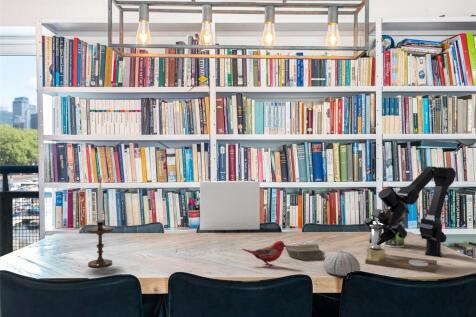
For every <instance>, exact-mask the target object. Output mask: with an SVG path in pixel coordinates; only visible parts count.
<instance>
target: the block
mask: <svg viewBox="0 0 476 317" xmlns="http://www.w3.org/2000/svg"><path fill="white" fill-rule="evenodd" d="M260 183H261V182H260V181H258V180H214V181H213V180H208V181H207V180H203V181H199V230H200V231H235V230H236V231H237V230H261V228H260V226H261V225H260V224H261V223H260V222H261V218H260V217H261V215H260V214H261V212H260V211H261V210H260V209H261V207H260V206H261V205H260V204H261V200H260V198H261V196H260V192H261V191H260V189H261V187H260V186H261V185H260Z"/></svg>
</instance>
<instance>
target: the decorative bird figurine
mask: <svg viewBox="0 0 476 317" xmlns="http://www.w3.org/2000/svg"><path fill="white" fill-rule="evenodd" d="M287 246H288V245H285V243H284V241H282V240H278V241H276V242H274V243H273V244H272V245H270V246H269V245H268V246H266V247H265V246H264V247H262V248H258V249H255V250H251V249H245V248H242V249H241V250H242V251H245V252H247V253H249V254H251V255H253V256H254V257H255V258H256V259H258V260H261V261H262V262H264V263H263V264H262V266H269V267H272V266H274V264H272V263H271V262H274V261H276V260H277V261H278V259H279V258H280V257H281V255H282V253H283V251H284V250H285V248H286V247H287ZM269 262H270V263H269Z"/></svg>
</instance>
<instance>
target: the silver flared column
mask: <svg viewBox="0 0 476 317" xmlns="http://www.w3.org/2000/svg"><path fill="white" fill-rule="evenodd" d="M369 227H372V234H371V233H370V236H371V243H370V244H371V245H370V247H371V250H377V251H379V250H381V248H382V244H380V245H377V244H376V243H377V241H378V239H379V238H380V236H381V233H382V229H381V228H383V225H380V224H370V225H369Z"/></svg>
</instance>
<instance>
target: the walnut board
mask: <svg viewBox="0 0 476 317" xmlns="http://www.w3.org/2000/svg"><path fill="white" fill-rule="evenodd" d="M409 260H421V261H425V262H427V263H428V266H414V265H410V264H409V263H408V261H409ZM364 261H365V262H364V264H367V265H374V266H379V267H380V266H381V267H388V268H389V267H390V268H397V269H404V270H410V271H411V270H412V271H418V272H427V273H436V270H437V266H438V265H437V264H438V263H437V262H438V261H437V260H435V259H427V258H419V257H418V258H417V257H409V256H404V255H403V256H401V255H393V254H386V253H385V260H384V261H372V260H369V259H367V258H366V259H365V260H364Z"/></svg>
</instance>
